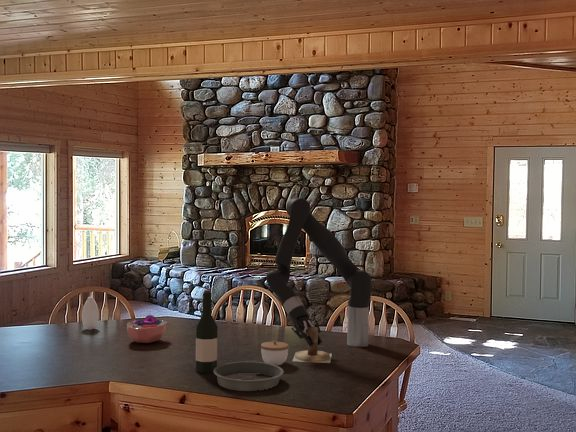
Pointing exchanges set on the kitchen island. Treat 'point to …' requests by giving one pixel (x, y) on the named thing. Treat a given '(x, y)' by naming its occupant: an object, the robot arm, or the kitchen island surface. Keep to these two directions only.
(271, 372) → the cake pan
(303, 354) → the lid
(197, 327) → the wine bottle
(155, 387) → the kitchen island surface
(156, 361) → the kitchen island surface
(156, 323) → the cell model
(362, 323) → the robot arm
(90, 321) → the sauce bottle
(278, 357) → the lidded jar
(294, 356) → the mat
